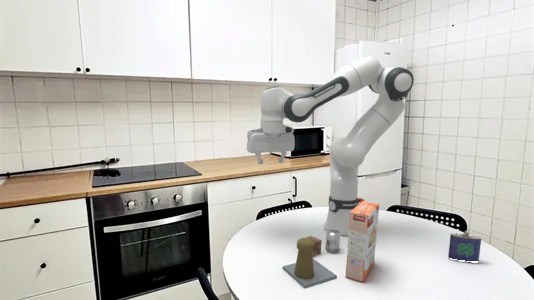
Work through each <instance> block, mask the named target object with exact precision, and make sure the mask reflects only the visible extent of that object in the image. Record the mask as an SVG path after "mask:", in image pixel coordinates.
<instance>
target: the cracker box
mask: <svg viewBox="0 0 534 300" xmlns="http://www.w3.org/2000/svg"><path fill="white" fill-rule="evenodd" d="M379 208H380V204H378V203H375V202H368V201H365V200H364V201H362V202H361V203H360V202H359V205H358V206H357V207H355V208H354V209H353V210H352V211H351V212H350V221H349V236H348V237H347V253H346V254H347V255H346V266H345V277H346V278H348V279H351V280H355V281H358V282H361V283H364V282H365V281H366V278H367V277H368V275H369V274H370V271H371V270H372V268H373V266H374V264H375V256H376V248H377V247H376V244H377V236H378V224H379V223H378V222H379V210H380V209H379Z"/></svg>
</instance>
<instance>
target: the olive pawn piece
mask: <svg viewBox="0 0 534 300" xmlns="http://www.w3.org/2000/svg"><path fill="white" fill-rule="evenodd" d="M296 249H297V256H296V261H295V263H296V266H295V272H294V274H295V276H296V277H298V278H300V279H311V278H313V277H314V268H313V259H314V257H312V250H313V249H314V242H313V241H312V240H311V239H309V238H306V237H301V238H299V239H298V240H297V241H296Z"/></svg>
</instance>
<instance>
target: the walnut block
mask: <svg viewBox="0 0 534 300" xmlns="http://www.w3.org/2000/svg"><path fill="white" fill-rule="evenodd" d="M305 238H309V239H311V240H312V241H313V242H314V249H313V250H312V257H313V258H315V257H317V256H318V255H320V254H322V243H323V242H322V239H320V238H318V237H315V236H312V235H309V236H307V237H305Z"/></svg>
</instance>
